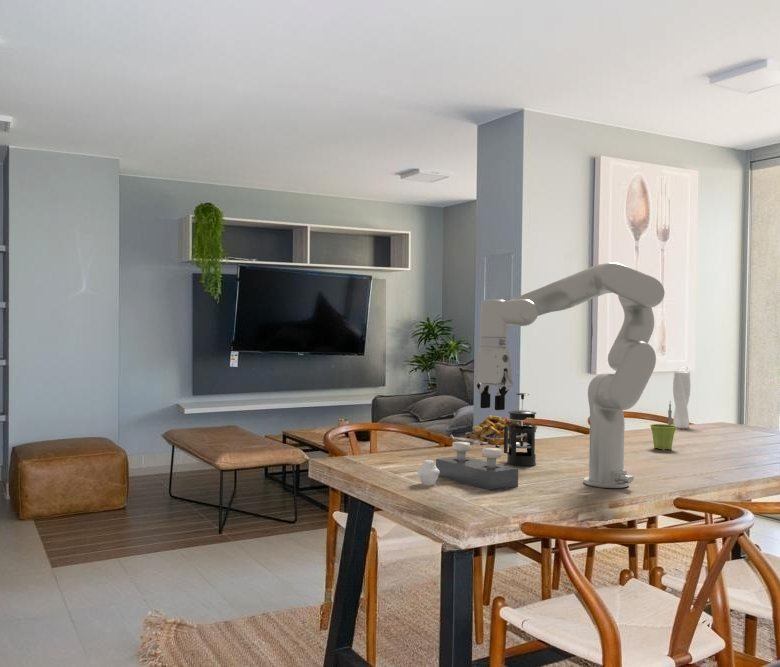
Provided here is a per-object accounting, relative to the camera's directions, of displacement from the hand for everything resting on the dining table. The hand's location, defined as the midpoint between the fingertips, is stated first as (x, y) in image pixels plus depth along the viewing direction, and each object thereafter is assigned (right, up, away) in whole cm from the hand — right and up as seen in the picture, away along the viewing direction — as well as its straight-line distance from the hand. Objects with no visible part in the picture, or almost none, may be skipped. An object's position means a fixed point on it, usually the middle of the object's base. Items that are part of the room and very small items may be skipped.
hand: (492, 408), depth 215 cm
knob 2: (0, -18, 0) cm, 18 cm away
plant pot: (+73, -22, +72) cm, 105 cm away
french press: (+13, -22, +34) cm, 43 cm away
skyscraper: (+102, -22, +131) cm, 167 cm away
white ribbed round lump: (-18, -21, 0) cm, 28 cm away
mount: (-4, -21, +5) cm, 22 cm away
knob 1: (-8, -17, +11) cm, 22 cm away
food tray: (+16, -22, +85) cm, 89 cm away
